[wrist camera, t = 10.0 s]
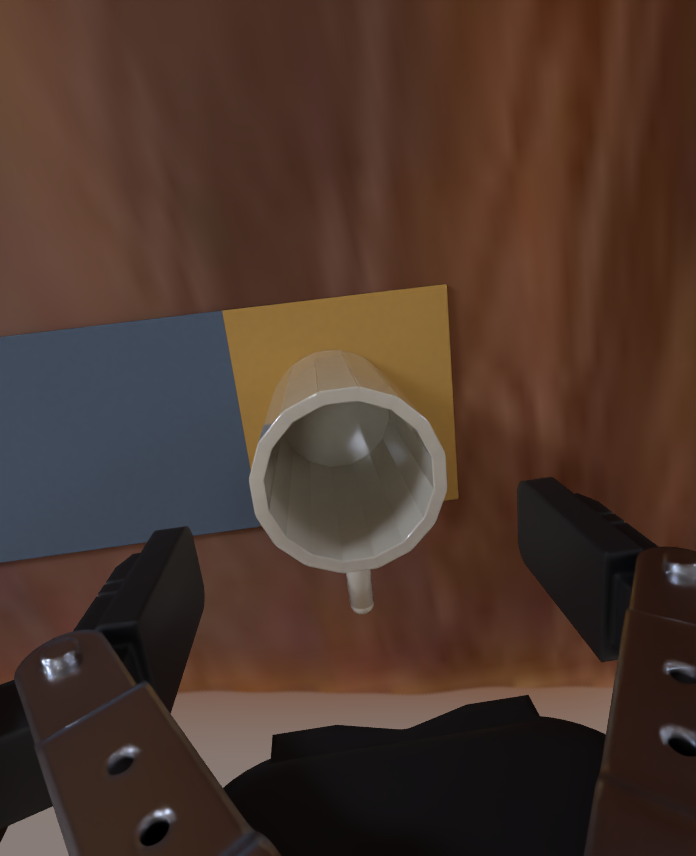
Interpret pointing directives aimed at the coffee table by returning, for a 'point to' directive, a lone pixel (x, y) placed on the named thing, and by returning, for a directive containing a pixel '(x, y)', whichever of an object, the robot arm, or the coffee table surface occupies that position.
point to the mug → (346, 469)
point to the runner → (184, 412)
